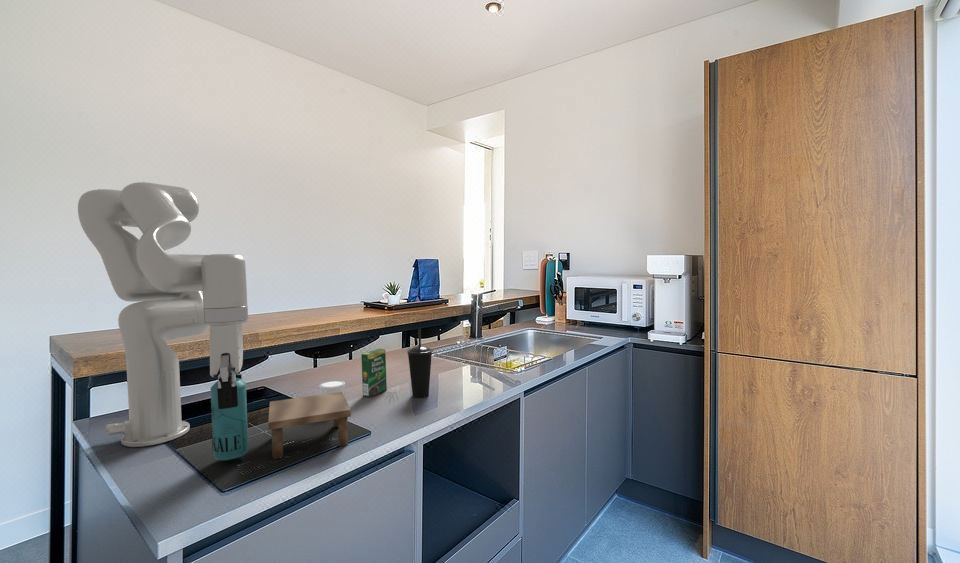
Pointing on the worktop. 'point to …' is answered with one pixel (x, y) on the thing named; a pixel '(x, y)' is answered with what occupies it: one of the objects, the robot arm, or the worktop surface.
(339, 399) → the walnut stool
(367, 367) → the coffee box
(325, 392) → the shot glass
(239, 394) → the beverage bottle
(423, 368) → the drinking cup
